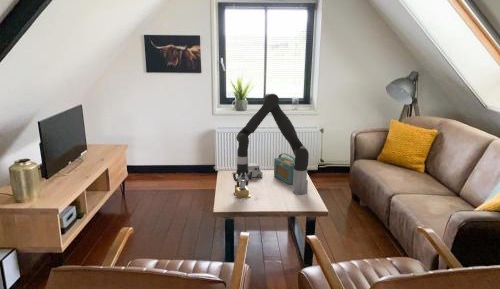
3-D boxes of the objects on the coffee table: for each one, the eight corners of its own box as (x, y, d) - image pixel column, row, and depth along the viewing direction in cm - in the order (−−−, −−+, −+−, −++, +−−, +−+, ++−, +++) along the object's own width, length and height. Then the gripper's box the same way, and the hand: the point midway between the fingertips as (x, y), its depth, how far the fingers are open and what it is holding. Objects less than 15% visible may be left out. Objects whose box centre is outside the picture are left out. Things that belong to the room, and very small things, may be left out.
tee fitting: (244, 190, 262) (244, 183, 261) (250, 197, 250) (250, 190, 249) (232, 192, 259) (232, 185, 258) (238, 198, 247) (238, 191, 246)
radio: (272, 175, 296) (273, 151, 291) (284, 174, 300) (285, 150, 296) (290, 185, 273) (291, 159, 269) (302, 183, 278) (303, 158, 273)
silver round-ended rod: (243, 193, 255) (244, 179, 252) (245, 195, 252) (246, 181, 249) (239, 193, 254) (239, 180, 251) (240, 195, 250) (241, 181, 248)
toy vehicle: (263, 177, 291) (263, 165, 289) (240, 179, 287) (240, 166, 285) (260, 174, 299) (260, 162, 297) (238, 175, 295) (238, 163, 293)
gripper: (250, 160, 253) (250, 183, 257) (230, 161, 248) (230, 185, 252) (254, 162, 246) (254, 186, 250) (233, 164, 241) (233, 189, 245)
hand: (242, 186), depth 251 cm, fingers open, 5 cm apart
